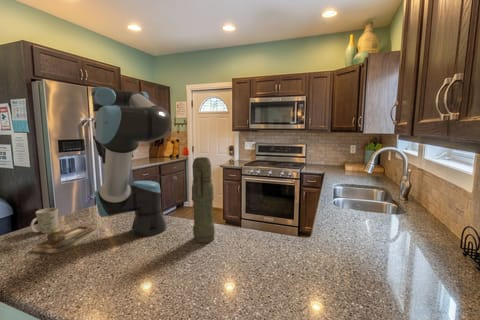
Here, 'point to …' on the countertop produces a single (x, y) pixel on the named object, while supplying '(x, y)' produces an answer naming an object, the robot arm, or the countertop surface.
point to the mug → (46, 220)
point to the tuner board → (66, 240)
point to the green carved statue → (202, 201)
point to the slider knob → (56, 236)
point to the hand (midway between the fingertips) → (107, 169)
